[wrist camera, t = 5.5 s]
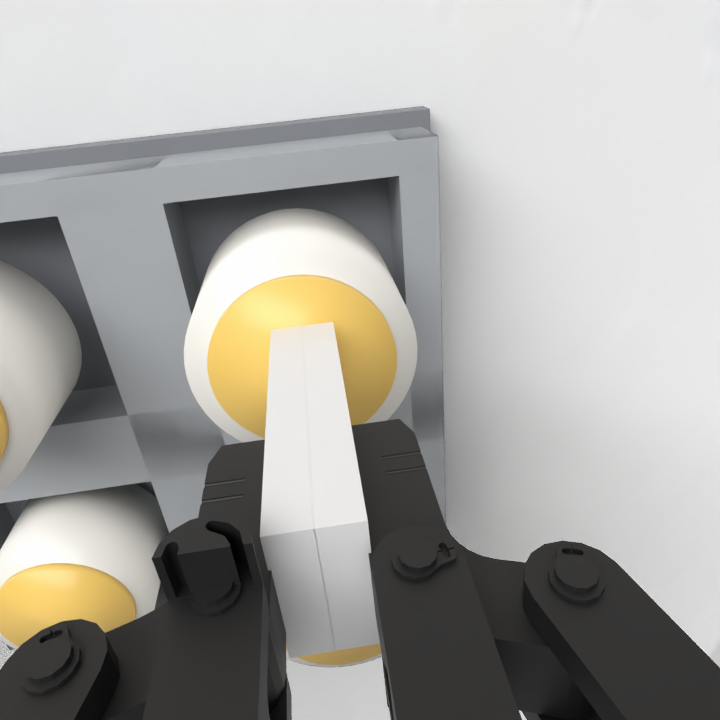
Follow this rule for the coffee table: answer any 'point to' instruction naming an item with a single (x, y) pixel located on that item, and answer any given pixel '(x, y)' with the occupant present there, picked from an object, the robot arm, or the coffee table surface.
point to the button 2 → (80, 561)
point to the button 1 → (31, 366)
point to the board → (201, 280)
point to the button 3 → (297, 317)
